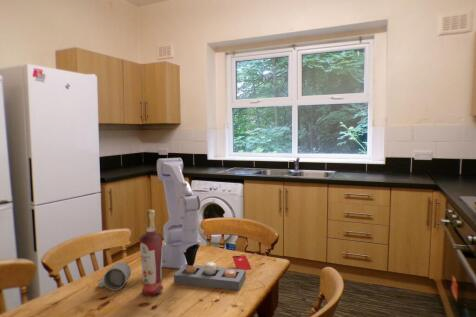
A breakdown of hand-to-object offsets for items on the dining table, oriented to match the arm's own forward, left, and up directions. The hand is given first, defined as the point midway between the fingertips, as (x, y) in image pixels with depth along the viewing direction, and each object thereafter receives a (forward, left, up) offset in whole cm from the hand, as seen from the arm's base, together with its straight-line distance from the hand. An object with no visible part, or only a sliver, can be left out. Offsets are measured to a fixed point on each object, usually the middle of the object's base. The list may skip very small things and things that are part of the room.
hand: (190, 264), depth 121 cm
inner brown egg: (0, 0, -3) cm, 3 cm away
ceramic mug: (-24, -11, -6) cm, 27 cm away
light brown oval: (+15, 0, -4) cm, 16 cm away
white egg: (+7, 0, -2) cm, 8 cm away
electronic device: (+14, +19, -6) cm, 25 cm away
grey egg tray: (+7, 0, -5) cm, 9 cm away
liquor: (-9, -13, -5) cm, 16 cm away
